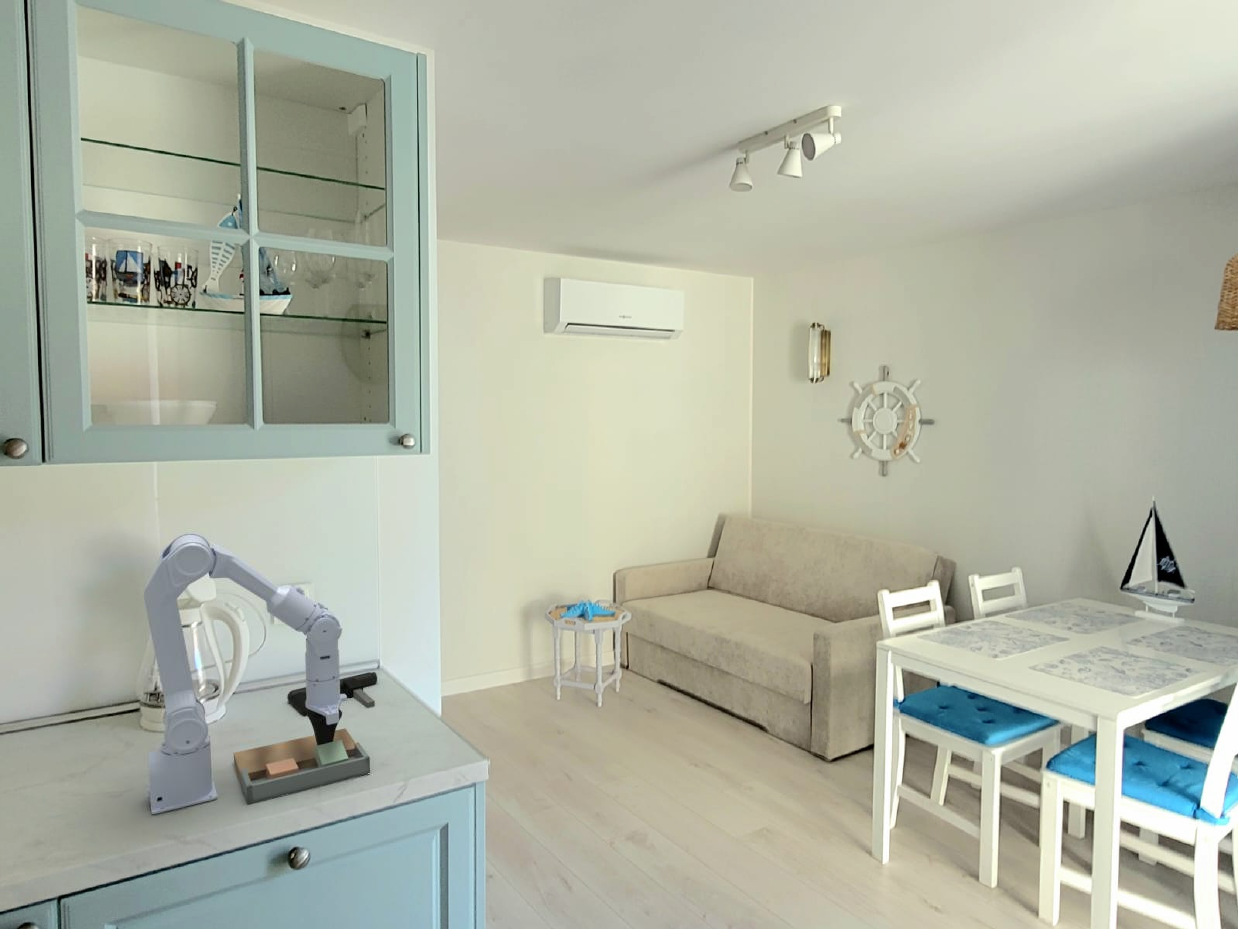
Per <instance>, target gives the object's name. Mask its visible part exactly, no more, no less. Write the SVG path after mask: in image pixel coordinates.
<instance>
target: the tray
mask: <svg viewBox="0 0 1238 929" xmlns="http://www.w3.org/2000/svg"><path fill="white" fill-rule="evenodd" d="M354 749H355V756H353V757H349V758H348V761H345V762H341V763H337V764H333V765H328V766H324V767H320V768H319V767H318V765H316V766H312V767H307V768H303V769H299V773H295V774H291V775H287V776H283V777H279V778H274V779H270V780H267V778H261V779H257V780H253V781H250V778H249V775H248V773H247V770H246V768H245V769H241V783H240V786H241V789H242V792H243V795H244V799H245V800H246V803H247V804H246V805H248V804H249V805H253V804H256V803H260V802H265V801H267V799H268V800H271V798H272V799H274V798H273V797H276V798H279V797H278V796H280V797H283V796H282V795H284V796H287V795H286V794H288V795H292V794H294V793H299V792H300V793H301V792H303V791H306V790H312V789H315V788H319V787H322V786H327V785H331V784H336V783H338V782H344V781H346V780H351V779H354V778H353V777H355V778H358V776H359V777H363V776H366V775H365V774H367V775H369V774H368V773H370V774H371V765H370V764H371V763H370V762H371V761H370V760H371V759H370V756H369V755H368V753H367V752H366V751H365V749H364V748H363V746H362V745H361V743H360V742H355V743H354ZM362 775H363V776H362ZM350 778H351V779H350ZM259 801H260V802H259Z"/></svg>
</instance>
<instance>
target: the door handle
mask: <svg viewBox="0 0 1238 929" xmlns="http://www.w3.org/2000/svg"><path fill="white" fill-rule="evenodd" d="M377 675H378V674H377V672H375V671H373V672H364V673H360V674H356V675H352V676H348V677H347V676H346V677H343V678H340V694H345V695H346V696H347V698H349V699H355V700H356V701H357V702H359V703H360V705H362V706H364V707H365V708H367V709H369V708H373V707H376V706H375V705H376V703H375V702H376V701H375V700H374V699H373V698H372V697H370V696H369V695H368V694H367V693H366V692H365V691H364V687H368V686H372V685H374V684H375V683H377V682H378V676H377ZM286 696H287V697H286V698H287V701H288V702H289V703H290V704H292V705H293V706H294V708H296V710H298V711H299V713H300V714H301V715H302V716H304V717H308V716H307V714H306V711H307V710H310V709H308V708H306V700H307V695H306V686H304V687H300V688H296V689H291V690H290V691H289V692H288V694H287V695H286ZM353 697H354V698H353Z"/></svg>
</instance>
